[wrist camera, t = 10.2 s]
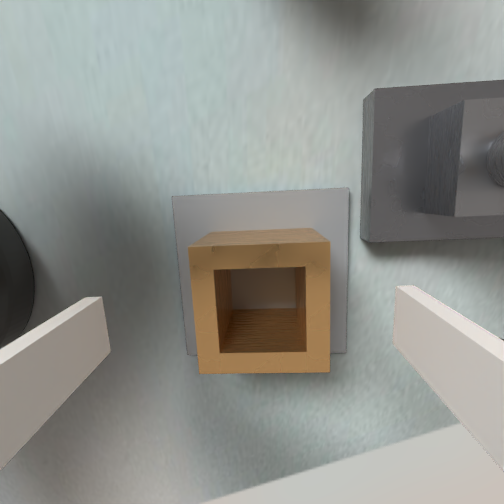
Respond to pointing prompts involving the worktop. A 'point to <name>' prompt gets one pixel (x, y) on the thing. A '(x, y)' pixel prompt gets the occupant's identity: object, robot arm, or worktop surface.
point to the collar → (261, 320)
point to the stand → (433, 162)
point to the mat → (264, 218)
